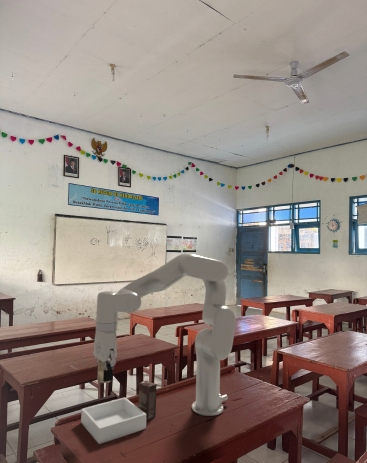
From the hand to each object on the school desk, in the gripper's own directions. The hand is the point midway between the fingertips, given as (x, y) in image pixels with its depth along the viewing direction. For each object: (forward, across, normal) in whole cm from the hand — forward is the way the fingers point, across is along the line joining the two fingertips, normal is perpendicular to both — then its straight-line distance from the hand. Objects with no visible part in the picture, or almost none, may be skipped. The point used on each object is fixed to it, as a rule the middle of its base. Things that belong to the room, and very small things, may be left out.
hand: (104, 377), depth 122 cm
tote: (+18, 0, +4) cm, 18 cm away
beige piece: (+1, 0, 0) cm, 1 cm away
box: (+18, 0, +18) cm, 26 cm away
